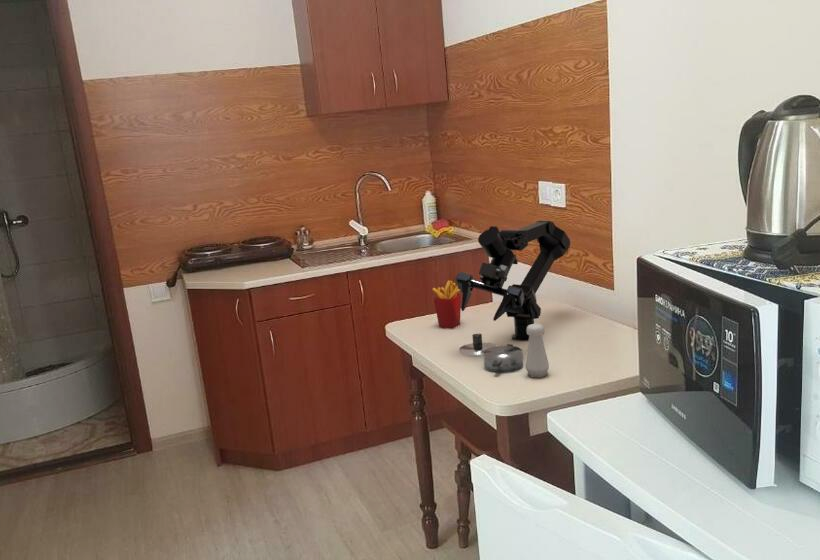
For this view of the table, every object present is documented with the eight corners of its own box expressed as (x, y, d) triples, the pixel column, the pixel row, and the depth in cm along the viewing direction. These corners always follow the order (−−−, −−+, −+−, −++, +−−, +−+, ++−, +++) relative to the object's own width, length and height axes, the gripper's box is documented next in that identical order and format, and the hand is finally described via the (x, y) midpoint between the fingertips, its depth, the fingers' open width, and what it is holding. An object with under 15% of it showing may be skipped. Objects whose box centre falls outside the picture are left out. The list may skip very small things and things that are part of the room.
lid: (465, 344, 210) (464, 328, 209) (501, 345, 206) (500, 329, 205) (454, 356, 200) (453, 340, 199) (491, 358, 196) (490, 341, 195)
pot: (492, 355, 197) (492, 341, 196) (529, 357, 193) (528, 342, 192) (477, 375, 183) (476, 360, 182) (515, 377, 180) (514, 362, 179)
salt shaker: (549, 378, 177) (546, 328, 174) (525, 379, 178) (522, 329, 175) (549, 370, 182) (547, 321, 179) (526, 370, 183) (523, 322, 181)
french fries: (435, 328, 227) (431, 282, 224) (448, 321, 234) (444, 276, 231) (459, 330, 223) (455, 283, 219) (472, 323, 229) (468, 277, 226)
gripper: (463, 243, 194) (441, 290, 188) (529, 260, 187) (508, 310, 181) (469, 265, 204) (448, 311, 197) (532, 282, 196) (512, 330, 190)
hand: (477, 315), depth 191 cm, fingers open, 9 cm apart
